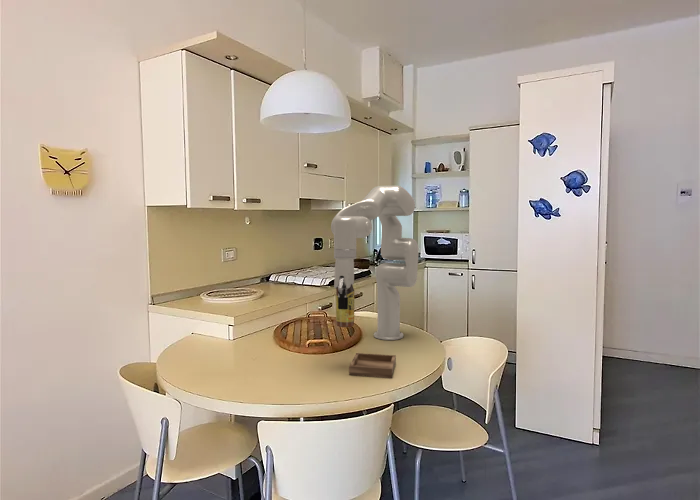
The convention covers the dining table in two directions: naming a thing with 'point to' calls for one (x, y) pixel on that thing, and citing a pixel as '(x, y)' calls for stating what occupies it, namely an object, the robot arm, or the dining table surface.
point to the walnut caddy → (372, 365)
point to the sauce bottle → (346, 310)
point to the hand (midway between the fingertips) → (345, 306)
